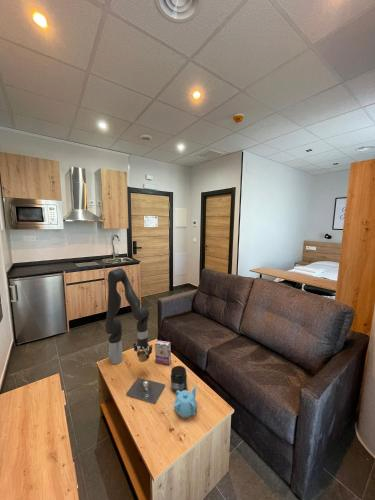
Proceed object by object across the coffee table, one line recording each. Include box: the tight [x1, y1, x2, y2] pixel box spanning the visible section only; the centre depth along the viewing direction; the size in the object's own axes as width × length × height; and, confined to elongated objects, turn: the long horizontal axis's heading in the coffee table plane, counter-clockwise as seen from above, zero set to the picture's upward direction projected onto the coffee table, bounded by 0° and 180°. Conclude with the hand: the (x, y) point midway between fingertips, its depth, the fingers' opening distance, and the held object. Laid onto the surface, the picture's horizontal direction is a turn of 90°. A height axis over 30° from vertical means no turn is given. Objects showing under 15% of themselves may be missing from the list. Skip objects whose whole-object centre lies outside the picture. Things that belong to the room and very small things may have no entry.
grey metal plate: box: [125, 377, 166, 405], centre depth 133 cm, size 20×14×6 cm
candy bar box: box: [154, 339, 172, 366], centre depth 159 cm, size 11×5×16 cm, turn 73°
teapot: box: [173, 384, 198, 420], centre depth 119 cm, size 13×14×11 cm
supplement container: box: [170, 365, 188, 393], centre depth 135 cm, size 10×10×12 cm
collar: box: [137, 350, 148, 363], centre depth 147 cm, size 6×6×4 cm
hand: (143, 357), depth 147 cm, fingers closed on collar, 6 cm apart
